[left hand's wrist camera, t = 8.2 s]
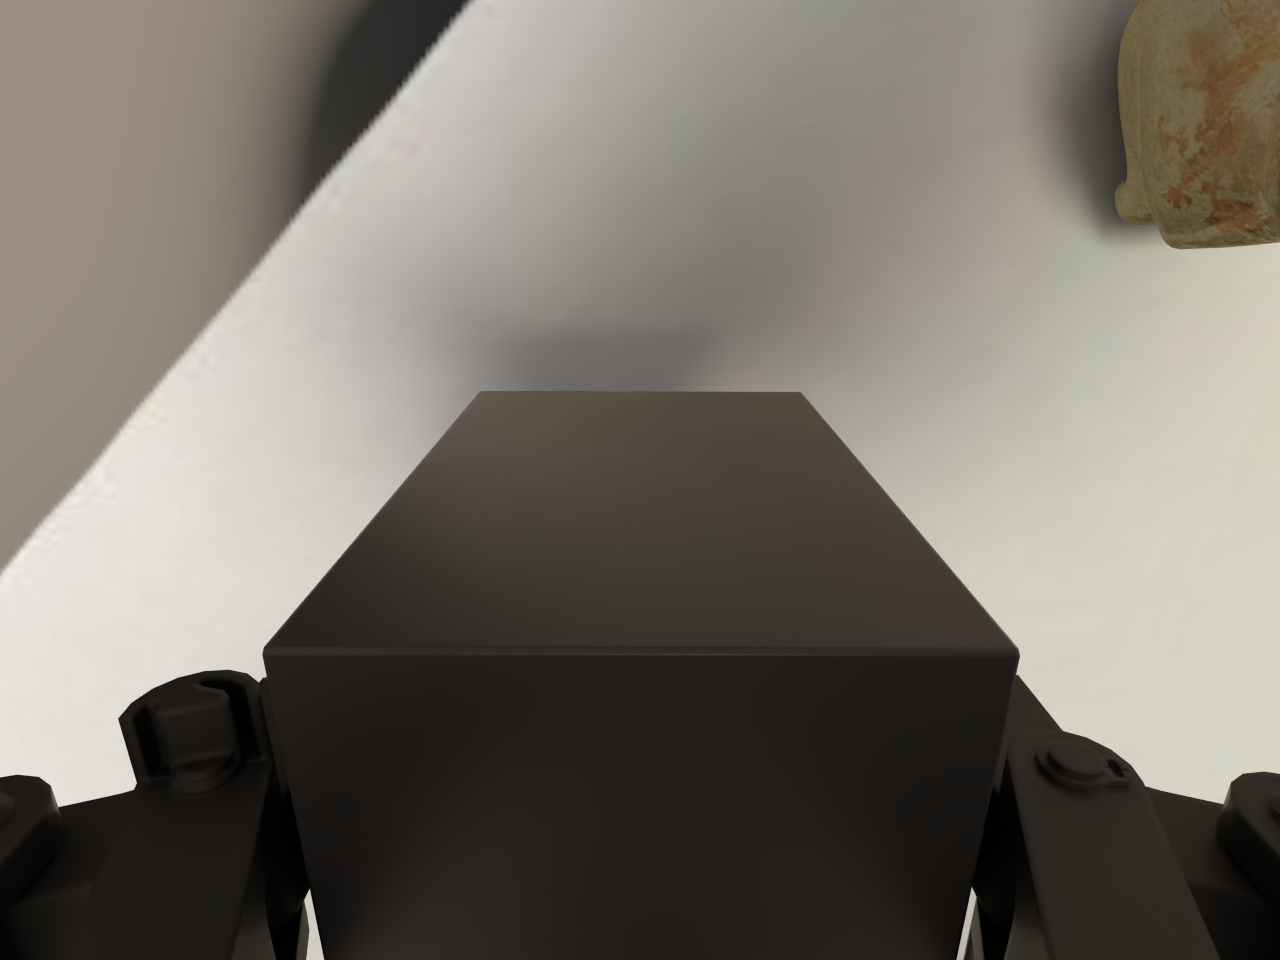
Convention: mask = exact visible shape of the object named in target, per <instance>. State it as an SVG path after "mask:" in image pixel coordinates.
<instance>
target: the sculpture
mask: <svg viewBox="0 0 1280 960" xmlns="http://www.w3.org/2000/svg"><path fill="white" fill-rule="evenodd" d="M1118 98H1119V110H1120V120H1121V127H1122V134H1123V140H1124V145H1125V152H1126V160H1127V168H1128V169H1127V179H1126V180H1125V181H1124V182H1122V183H1120V184H1119V185H1118V187H1117V189H1116V192H1115V204H1116V209H1117V212H1118V214H1119V216H1120V217H1121V218H1122V219H1123V220H1124V221H1126V222H1130V223H1135V224H1157V226H1158V228H1159V231H1160V233H1161V235H1162V238H1163V239H1164V241H1165V242H1166V243H1167V244H1168V245H1169V246H1171V247H1172V248H1177V249H1196V248H1223V247H1235V246H1248V245H1258V244H1267V243H1277V242H1280V0H1140V1H1139V3H1138V4H1137V6H1136V7H1135V9H1134V11H1133V13H1132V15H1131V16H1130V18H1129V21H1128V23H1127V25H1126V28H1125V30H1124V33H1123V37H1122V40H1121V44H1120V51H1119V60H1118Z"/></svg>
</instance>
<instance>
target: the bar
mask: <svg viewBox="0 0 1280 960" xmlns="http://www.w3.org/2000/svg"><path fill="white" fill-rule="evenodd" d="M1019 658H1020V653H1019V650H1018V648H1017V647H1016V645H1015V644H1014V643H1013V642H1012V641H1011V639H1010V638H1009V637H1008V636H1007V635H1006V634H1005V632H1004V631H1003V630H1002V629H1001V628H1000V627H999V625H998V624H997V623H996V622H995V621H994V619H993V618H992V617H991V616H990V615H989V614H988V612H987V611H986V610H985V609H984V608H983V606H982V605H981V604H980V603H979V602H978V601H977V599H976V598H975V597H974V596H973V595H972V593H971V592H970V591H969V590H968V589H967V588H966V586H965V585H964V584H963V583H962V582H961V581H960V579H959V578H958V577H957V576H956V575H955V573H954V572H953V571H952V570H951V569H950V568H949V566H948V565H947V564H946V563H945V562H944V560H943V559H942V558H941V557H940V556H939V555H938V553H937V552H936V551H935V550H934V549H933V547H932V546H931V545H930V544H929V543H928V542H927V540H926V539H925V538H924V537H923V536H922V535H921V533H920V532H919V531H918V530H917V529H916V527H915V526H914V525H913V524H912V523H911V522H910V520H909V519H908V518H907V517H906V516H905V514H904V513H903V512H902V511H901V510H900V509H899V507H898V506H897V505H896V504H895V503H894V501H893V500H892V499H891V498H890V497H889V496H888V494H887V493H886V492H885V491H884V490H883V489H882V487H881V486H880V485H879V484H878V483H877V481H876V480H875V479H874V478H873V477H872V476H871V474H870V473H869V472H868V471H867V470H866V468H865V467H864V466H863V465H862V464H861V463H860V461H859V460H858V459H857V458H856V457H855V455H854V454H853V453H852V452H851V451H850V450H849V448H848V447H847V446H846V445H845V444H844V443H843V441H842V440H841V439H840V438H839V437H838V435H837V434H836V433H835V432H834V431H833V430H832V428H831V427H830V426H829V425H828V424H827V422H826V421H825V420H824V419H823V418H822V417H821V415H820V414H819V413H818V412H817V411H816V409H815V408H814V407H813V406H812V405H811V404H810V402H809V401H808V400H807V399H806V398H805V397H804V395H803V394H802V393H800V392H535V391H482V392H480V393H479V394H478V395H477V396H476V397H475V398H474V400H473V401H472V402H471V403H470V404H469V406H468V407H467V408H466V409H465V410H464V411H463V413H462V414H461V415H460V416H459V417H458V419H457V420H456V421H455V422H454V423H453V424H452V426H451V427H450V428H449V429H448V430H447V432H446V433H445V434H444V435H443V436H442V437H441V439H440V440H439V441H438V442H437V443H436V445H435V446H434V447H433V448H432V449H431V450H430V452H429V453H428V454H427V455H426V456H425V458H424V459H423V460H422V461H421V462H420V464H419V465H418V466H417V467H416V468H415V469H414V471H413V472H412V473H411V474H410V475H409V477H408V478H407V479H406V480H405V481H404V482H403V484H402V485H401V486H400V487H399V488H398V490H397V491H396V492H395V493H394V494H393V495H392V497H391V498H390V499H389V500H388V501H387V503H386V504H385V505H384V506H383V507H382V508H381V510H380V511H379V512H378V513H377V514H376V516H375V517H374V518H373V519H372V520H371V521H370V523H369V524H368V525H367V526H366V527H365V529H364V530H363V531H362V532H361V533H360V534H359V536H358V537H357V538H356V539H355V540H354V542H353V543H352V544H351V545H350V546H349V547H348V549H347V550H346V551H345V552H344V553H343V555H342V556H341V557H340V558H339V559H338V560H337V562H336V563H335V564H334V565H333V566H332V568H331V569H330V570H329V571H328V572H327V573H326V575H325V576H324V577H323V578H322V579H321V581H320V582H319V583H318V584H317V585H316V586H315V588H314V589H313V590H312V591H311V592H310V594H309V595H308V596H307V597H306V598H305V599H304V601H303V602H302V603H301V604H300V605H299V607H298V608H297V609H296V610H295V611H294V612H293V614H292V615H291V616H290V617H289V618H288V620H287V621H286V622H285V623H284V624H283V625H282V627H281V628H280V629H279V630H278V631H277V633H276V634H275V635H274V636H273V637H272V639H271V640H270V641H269V642H268V643H267V644H266V646H265V647H264V650H263V660H264V665H265V670H266V675H267V679H268V684H269V689H270V694H271V699H272V704H273V709H274V714H275V719H276V724H277V729H278V734H279V739H280V744H281V748H282V753H283V758H284V763H285V768H286V773H287V778H288V783H289V788H290V793H291V798H292V803H293V808H294V812H295V817H296V822H297V827H298V832H299V837H300V842H301V847H302V852H303V857H304V862H305V867H306V872H307V877H308V881H309V886H310V891H311V896H312V901H313V906H314V911H315V916H316V921H317V926H318V931H319V936H320V941H321V946H322V950H323V955H324V960H956V959H957V954H958V950H959V945H960V940H961V935H962V930H963V926H964V921H965V916H966V911H967V906H968V902H969V897H970V892H971V887H972V883H973V878H974V873H975V868H976V863H977V859H978V854H979V849H980V844H981V840H982V835H983V830H984V825H985V820H986V816H987V811H988V806H989V801H990V797H991V792H992V787H993V782H994V777H995V773H996V768H997V763H998V758H999V754H1000V749H1001V744H1002V739H1003V734H1004V730H1005V725H1006V720H1007V715H1008V710H1009V706H1010V701H1011V696H1012V691H1013V687H1014V682H1015V677H1016V672H1017V667H1018V663H1019Z"/></svg>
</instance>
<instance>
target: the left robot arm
mask: <svg viewBox="0 0 1280 960" xmlns="http://www.w3.org/2000/svg"><path fill="white" fill-rule="evenodd" d="M118 720H119V723H120V727H121V730H122V734H123V737H124V740H125V744H126V747H127V751H128V754H129V757H130V761H131V764H132V768H133V771H134V774H135V778H136V781H137V784H136V787H135V789H134V790H132V791H128V792H125V793H121V794H117V795H113V796H108V797H103V798H99V799H94V800H90V801H85V802H81V803H76V804H71V805H67V806H62V807H58V806H57V803H56V800H55V797H54V794H53V791H52V788H51V786H50V785H49V784H48V783H46V782H45V781H44V780H42V779H41V778H39V777H34V776H24V775H13V776H7V777H0V960H306V956H307V947H308V938H309V924H308V918H307V912H306V907H305V902H304V899H305V897H306V895H307V893H308V891H309V889H310V886H309V881H308V877H307V872H306V867H305V862H304V857H303V852H302V847H301V842H300V837H299V832H298V827H297V822H296V817H295V812H294V808H293V803H292V798H291V793H290V788H289V783H288V778H287V773H286V768H285V763H284V758H283V753H282V748H281V744H280V739H279V734H278V729H277V724H276V719H275V714H274V709H273V704H272V699H271V694H270V689H269V684H268V679H267V677H266V678H262V680H261V681H260V682H259V683H258V682H257V681H256V680H255V679H254V678H252V677H251V676H250V675H248V674H247V673H242V672H237V671H232V670H217V671H203V672H199V673H195V674H191V675H187V676H183V677H179V678H176V679H174V680H172V681H169V682H167V683H165V684H163V685H160V686H158V687H156V688H153V689H151V690H150V691H149V692H147V693H146V694H144V695H143V696H141V697H140V698H138V699H137V700H135V701H134V702H132V703H131V704H130V705H129V706H128V708H127V709H126V710H125V711H124V712H123V714H122V715H121V716H120V717H119V718H118ZM972 888H973V890H974V892H975V894H976V896H977V897H976V902H975V907H974V912H973V916H972V921H971V926H970V931H969V935H968V940H967V945H966V950H965V955H964V959H963V960H1280V774H1276V773H1270V772H1256V773H1246V774H1242V775H1241V776H1239V777H1238V778H1237V779H1235V780H1234V781H1233V782H1231V784H1230V787H1229V790H1228V793H1227V796H1226V799H1225V802H1224V804H1219V803H1215V802H1210V801H1206V800H1201V799H1196V798H1192V797H1187V796H1183V795H1178V794H1173V793H1169V792H1164V791H1160V790H1156V789H1153V788H1149V787H1146V786H1145V785H1144V783H1143V781H1142V780H1141V778H1140V777H1139V776H1138V774H1137V773H1136V771H1135V770H1134V769H1133V767H1132V766H1131V765H1130V764H1129V763H1128V762H1126V761H1125V760H1124V759H1122V758H1121V757H1120V756H1119V755H1117V754H1116V753H1115V752H1113V751H1112V750H1111V749H1109V748H1107V747H1105V746H1103V745H1101V744H1098V743H1096V742H1094V741H1092V740H1090V739H1088V738H1086V737H1082V736H1079V735H1075V734H1072V733H1068V732H1065V731H1062V729H1061V728H1060V727H1059V726H1058V724H1057V723H1056V722H1055V721H1054V719H1053V718H1052V717H1051V716H1050V714H1049V713H1048V712H1047V711H1046V709H1045V708H1044V707H1043V706H1042V704H1041V703H1040V702H1039V701H1038V699H1037V698H1036V697H1035V696H1034V694H1033V693H1032V692H1031V691H1030V689H1029V688H1028V687H1027V686H1026V684H1025V683H1024V682H1023V681H1022V679H1021V678H1020V677H1019V676H1018V675H1016V677H1015V682H1014V687H1013V691H1012V696H1011V701H1010V706H1009V710H1008V715H1007V720H1006V725H1005V730H1004V734H1003V739H1002V744H1001V749H1000V754H999V758H998V763H997V768H996V773H995V777H994V782H993V787H992V792H991V797H990V801H989V806H988V811H987V816H986V820H985V825H984V830H983V835H982V840H981V844H980V849H979V854H978V859H977V863H976V868H975V873H974V878H973V883H972Z"/></svg>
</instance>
